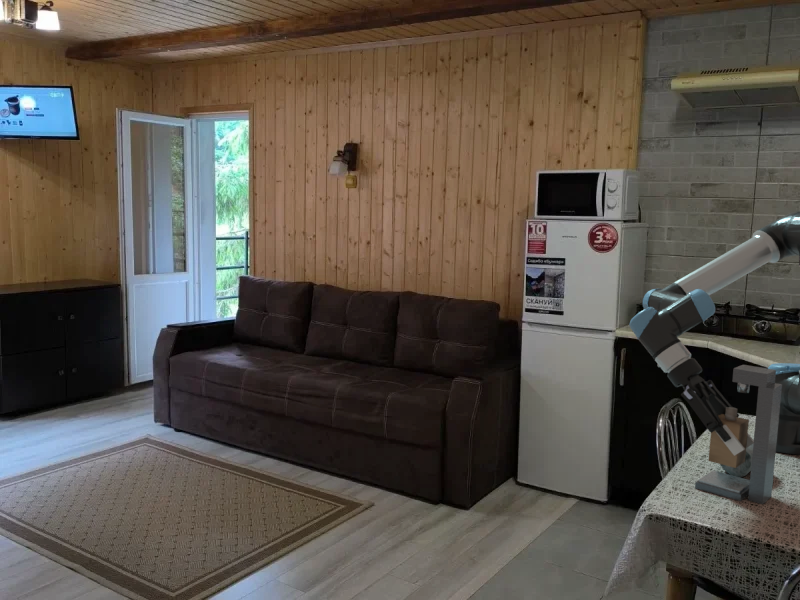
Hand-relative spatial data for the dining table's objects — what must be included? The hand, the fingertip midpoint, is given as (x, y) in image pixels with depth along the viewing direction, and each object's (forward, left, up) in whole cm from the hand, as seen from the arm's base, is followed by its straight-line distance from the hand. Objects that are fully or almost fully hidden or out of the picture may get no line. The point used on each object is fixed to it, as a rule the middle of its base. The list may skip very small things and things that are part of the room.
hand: (744, 448), depth 160 cm
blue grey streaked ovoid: (-15, -5, -11) cm, 19 cm away
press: (0, -1, -10) cm, 11 cm away
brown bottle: (0, -4, -4) cm, 5 cm away
